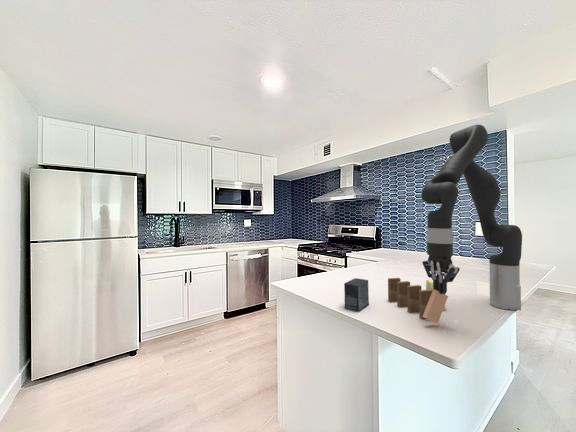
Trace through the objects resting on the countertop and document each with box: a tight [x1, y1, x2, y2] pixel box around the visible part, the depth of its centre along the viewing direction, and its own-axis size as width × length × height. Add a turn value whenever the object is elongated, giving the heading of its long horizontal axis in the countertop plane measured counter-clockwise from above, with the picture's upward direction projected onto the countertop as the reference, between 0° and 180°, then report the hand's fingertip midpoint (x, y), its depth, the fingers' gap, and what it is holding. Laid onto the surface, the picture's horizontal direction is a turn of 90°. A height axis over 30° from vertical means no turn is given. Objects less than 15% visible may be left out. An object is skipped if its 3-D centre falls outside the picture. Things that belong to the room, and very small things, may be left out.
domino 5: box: [422, 289, 449, 325], centre depth 82 cm, size 2×5×10 cm, turn 103°
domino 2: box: [396, 280, 411, 308], centre depth 100 cm, size 2×5×10 cm, turn 103°
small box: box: [343, 277, 370, 313], centre depth 100 cm, size 11×6×10 cm, turn 141°
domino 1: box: [387, 277, 401, 303], centre depth 106 cm, size 2×5×10 cm, turn 103°
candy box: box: [425, 279, 446, 312], centre depth 103 cm, size 16×2×8 cm, turn 168°
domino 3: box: [407, 284, 422, 314], centre depth 95 cm, size 2×5×10 cm, turn 103°
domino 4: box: [418, 289, 433, 320], centre depth 89 cm, size 2×5×10 cm, turn 103°
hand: (439, 292), depth 83 cm, fingers closed on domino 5, 1 cm apart
